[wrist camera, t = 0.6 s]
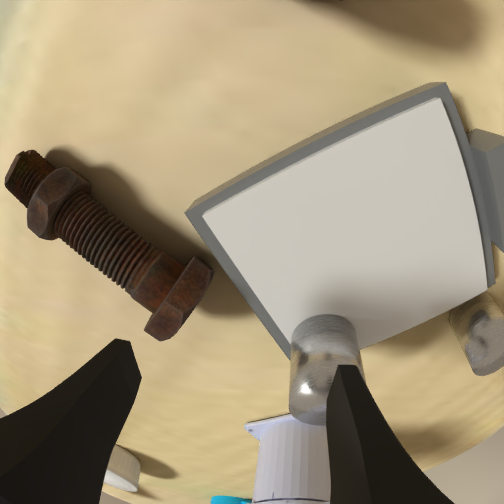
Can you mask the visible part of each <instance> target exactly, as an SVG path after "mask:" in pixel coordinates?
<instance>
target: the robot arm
mask: <svg viewBox="0 0 504 504" xmlns="http://www.w3.org/2000/svg"><path fill="white" fill-rule="evenodd" d="M141 379H142V377H141V374H140V371H139V368H138V365H137V362H136V359H135V356H134V353H133V349H132V346H131V343H130V341H126V340H121V339H114V340H113V341H112V342H111V343H109V344H108V345H107V346H106V347H105V348H103V349H102V350H101V351H100V352H99V353H98V354H96V355H95V356H94V357H93V358H92V359H90V360H89V361H88V362H87V363H86V364H85V365H83V366H82V367H81V368H80V369H78V370H77V371H76V372H75V373H74V374H72V375H71V376H70V377H68V378H67V379H66V380H64V381H63V382H62V383H61V384H59V385H58V386H57V387H55V388H54V389H53V390H51V391H50V392H48V393H47V394H45V395H44V396H42V397H41V398H39V399H37V400H36V401H34V402H32V403H31V404H29V405H27V406H25V407H23V408H21V409H19V410H17V411H16V412H14V413H12V414H10V415H7V416H5V417H3V418H0V504H99V501H100V495H101V490H102V486H103V482H104V478H105V474H106V470H107V467H108V463H109V460H110V456H111V454H112V451H113V448H114V446H115V444H116V441H117V439H118V437H119V435H120V432H121V430H122V428H123V426H124V424H125V421H126V419H127V417H128V415H129V413H130V410H131V408H132V406H133V404H134V401H135V398H136V395H137V392H138V389H139V385H140V382H141ZM244 429H245V430H247V431H248V432H249V433H250V434H251V435H253V436H254V437H255V438H256V439H258V440H259V441H260V444H259V452H258V460H257V468H256V476H255V484H254V491H253V499H252V503H246V504H454V503H453V502H452V501H451V500H450V499H449V498H448V497H447V496H445V495H444V494H443V493H442V492H441V491H440V490H439V489H438V488H437V487H436V486H435V485H434V484H433V483H432V481H431V480H430V479H429V478H428V477H427V476H426V475H425V474H424V473H423V472H422V471H421V469H420V468H419V467H418V466H417V465H416V463H415V462H414V461H413V460H412V458H411V457H410V456H409V454H408V453H407V452H406V451H405V449H404V448H403V446H402V445H401V443H400V442H399V441H398V439H397V438H396V436H395V434H394V433H393V431H392V430H391V428H390V427H389V425H388V423H387V422H386V420H385V418H384V417H383V415H382V413H381V411H380V410H379V408H378V406H377V404H376V403H375V401H374V399H373V397H372V395H371V393H370V391H369V389H368V387H367V385H366V383H365V381H364V379H363V377H362V375H361V373H360V371H359V369H358V367H357V366H356V365H342V364H338V366H337V370H336V373H335V376H334V379H333V382H332V385H331V388H330V391H329V394H328V397H327V401H326V426H317V425H310V424H306V423H303V422H301V421H299V420H297V419H295V418H294V417H293V416H292V415H291V414H287V415H283V416H279V417H275V418H270V419H265V420H261V421H256V422H251V423H246V424H245V425H244Z"/></svg>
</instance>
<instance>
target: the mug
mask: <svg viewBox="0 0 504 504" xmlns="http://www.w3.org/2000/svg"><path fill="white" fill-rule="evenodd" d="M246 503H252V501H250V500H246V499H243V498H238V497H231V496H214V497H212V499H211V504H246Z"/></svg>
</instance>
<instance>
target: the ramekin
mask: <svg viewBox="0 0 504 504" xmlns="http://www.w3.org/2000/svg"><path fill="white" fill-rule="evenodd" d="M140 469H141V465H140V463H139V461H138V459H137V458H136V457H135V456H134V455H133V454H131V453H130V452H128V451H127V450H125V449H123V448H121V447H119V446H117V445H115V446H114V448H113V451H112V454H111V456H110V460H109V463H108V467H107V470H106V474H105V478H104V482H103V483H106V484H108V485H110V486H113V487H116V488H118V489H122V490H125V491H132V492H135V491H137V490H138V488H139V484H138V482H139V475H140Z"/></svg>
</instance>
